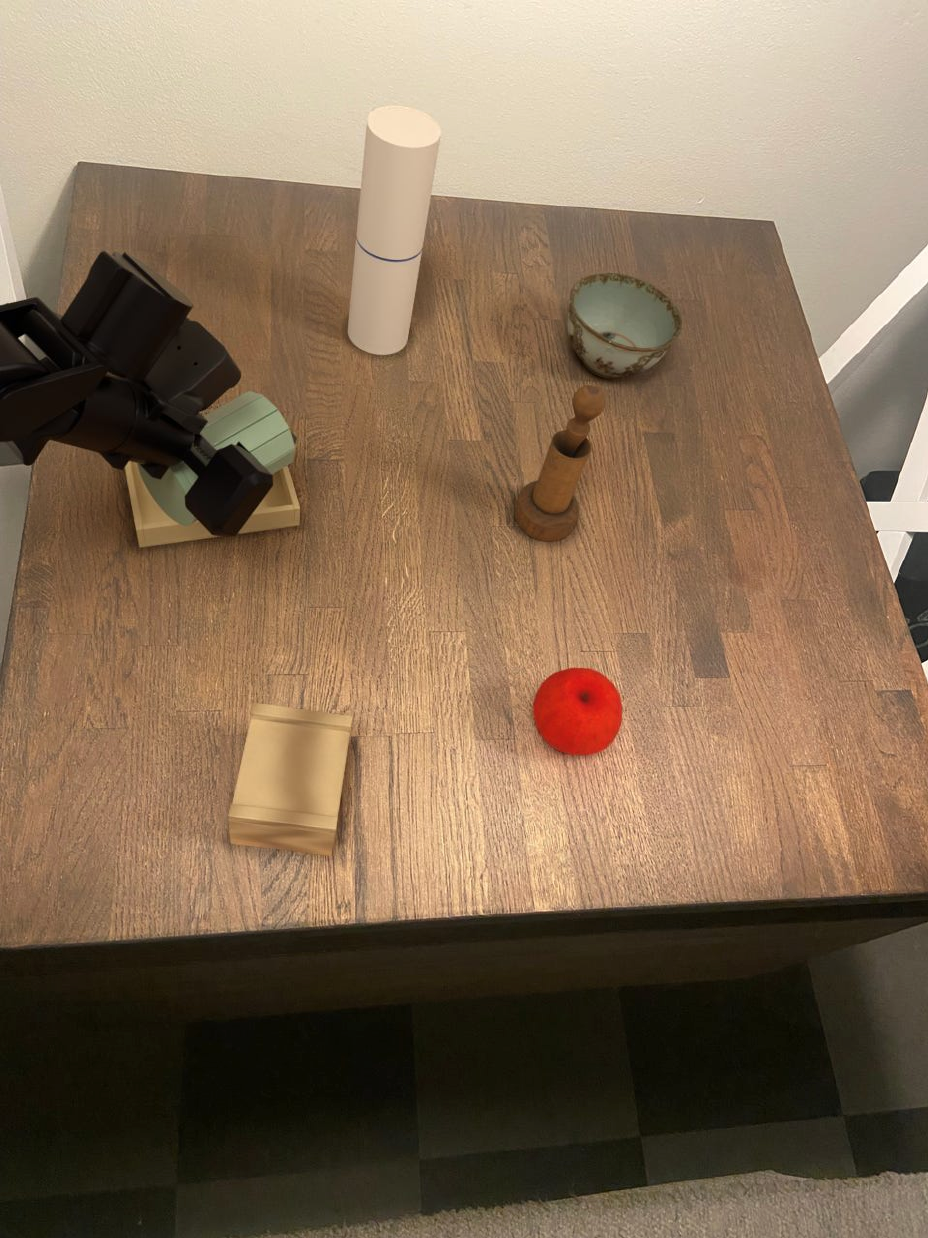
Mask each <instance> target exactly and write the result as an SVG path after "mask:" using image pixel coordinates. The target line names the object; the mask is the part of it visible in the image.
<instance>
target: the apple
mask: <svg viewBox="0 0 928 1238" xmlns="http://www.w3.org/2000/svg"><path fill="white" fill-rule="evenodd" d="M532 706H533V707H532V713H533V718H534V721H535V725H536V729H537V732H539V734H540V735H541V737H542V738H543V740H544V741H545V742H546V743H547V744H548V745H549V746H551V748H554V749H556V750H557V751H558V752H560V753H563V754H568V755H572V756H590V755H594V754H598V753H601V752H602V751H604V750H606V749H607V748H608V747H609V746H610V745H611V744H613V742H614V741H615V739H616V737H617V735H618V733H619V731H620V729H621V725H622V722H623V709H624V708H623V704H622V699H621V694H620V692H619V691H618V689H617V687H616V685H615V684H614V683H613V682H612V681H611V680H610V679H609V678H608V677H607V676H606V675H604V674H603V673H601V672H599V671H597V670H595V669H593V668H589V667H569V668H565V669H562V670H558V671H555V672H553V673H552V674H550V675H549V676H548V677H546V679H545V680H543V681H542V682H541V684H540V685H539V688H538V690H537V692H536V693H535V696H534V699H533V703H532Z"/></svg>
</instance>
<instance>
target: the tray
mask: <svg viewBox="0 0 928 1238" xmlns="http://www.w3.org/2000/svg"><path fill="white" fill-rule="evenodd" d="M288 465H289V464H288ZM288 465H287V466H285V467H284V468H282V469H280V470H279V471H277V472H275V473H274V474H272V475H273V487H272V488H271V489H270V491H269V492H268V493H267V495H266V496H265V497H264V499H263V500H262V502H261V503H260V504H259V506H258V507H257V508H256V510H255V511H254V512H253V514H252V515H251V516H250V518H249V519H248V520H247V522H246V523H245V524H244V526H243V527H242V529H241V530H240V531H239V533H238V534H237V535H241V534H249V533H254V532H263V531H269V530H270V531H271V530H277V529H283V528H290V527H291V528H292V527H298V526H300V521H301V520H300V519H301V506H300V503H299V500H298V496H297V493H296V489H295V486H294V482H293V478H292V476H291V471H290V469H289V466H288ZM124 471H125V476H126V481H127V487H128V493H129V498H130V504H131V510H132V516H133V521H134V527H135V532H136V537H137V543H138V548H147V547H153V546H161V545H168V544H176V543H184V542H190V541H197V540H204V539H212V538H219V537H220V536H214V535H212V534H211V533H210V532H209V531H208V530H207V529H206V528H205V527H204V526H203V525H202V524H201V523H200V522H199V521H196V522H194V523H192V524H191V525H189V526H184V525H181V524H178V523H177V522H175V521H174V520H172V519H171V518H170V517H169V516H168V515H167V514H166V513H165V512H164V511H163V510H162V509H161V508H160V507H159V506H158V504H157V503H156V502H155V500H154V499H153V497H152V496H151V494H150V493H149V491H148V489H147V488H146V486H145V484H144V482H143V480H142V477H141V475H140V472H139V469H138V464H137V463H135V462H131V461H129V462H128V463H127V465H126V466H125V468H124ZM220 538H221V537H220Z"/></svg>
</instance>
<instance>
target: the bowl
mask: <svg viewBox="0 0 928 1238" xmlns="http://www.w3.org/2000/svg"><path fill="white" fill-rule="evenodd" d="M567 313H568V314H567V321H566V323H567V333H568V338H569V340H570V343H571V346H572V348H573V350H574V351H575V353H576V355H577V356H578V357H579V359H580V360H582V363H583V364H584V366H585V367H586V369H588V371H589V372H590V373H592V374H594V375H595V376H598V377H600V378H605V379H619V378H621V377H628V376H633V375H637V374H639V373H643V372H645V371H647V370H649V369H650V368H652V367H653V366H654V365H656V364H657V363H658V362H659V361H660V360H661V359H663V358H664V356H665V355H666V353H667V352H668V350H669V349H670V347H671V346H672V345H673V344H674V343H675V342H676V341H677V340H678V338H679V336H680V335H681V331H682V329H683V319H682V315H681V313H680V310H679V309H678V307H677V306H676V305H675V303H674V301H673V300H672V299H671V298H670V297H669V296H667V295H666V294H665V293H664V292H663V291H662V290H660V289H659V288H658V287H656V286H655V285H653V284H652V283H649V282H647V281H645V280H643V279H641V278H638V277H634V276H632V275H627V274H623V273H618V272H603V273H602V272H601V273H595V274H590V275H587V276H585V277H583V278H581V279H579V280H578V281H577V282H575V283H574V285H573V287H572V288H571V290H570V295H569V307H568V311H567Z"/></svg>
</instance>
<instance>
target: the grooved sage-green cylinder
mask: <svg viewBox="0 0 928 1238" xmlns="http://www.w3.org/2000/svg"><path fill="white" fill-rule="evenodd" d="M202 416H203V417H204V418H205V419H206V420H207V421H208V422H207V424H206V425H205V427H204V428H203V430H202V431H201V432H200V433H201V434H202V435H203V436H204V437H205V438H206V439H207V440H208V441H209V442H210V443H211V444H212V445H213V446H214V447H215V448H216V449H217V450H218V449H220V448H224V447H226V446H228V445H230V444H234V445H236V444H237V443H238V442H240V443H241V444H242V445H243V446H244V447H245V448H246V449H247V450H248V451H249V452H250V453H251V454H252V455H253V456H254V457H255V458H256V459H257V460H258V461H259V462H260V463H261V464H262V465H263V466H264V467H265V468H266V469H267V470H268V471H269V472H270V473H271V474H274V473H275V472H277V471H279V470H280V469H282V468H284V467H285V466H287V465H291V463H293V462H294V458H295V454H296V453H295V452H296V444H295V445H294V441H293V438H292V434H291V432H292V431H291V429H290V427H289V425H288V423H287V422H286V420H285V418H284V417H283V415H282V413H281V412H280V410H278V408H277V406H275V405H274V404H273V403H272V402H271V401H270V399H268V398H267V397H266V396H265V395H263V394H261V393H258V392H255V391H252V390H248V391H246V392H244V393H242V394H240V395H238V396H236V397H234V398H233V399H231V400H229V401H228V402H226V403H224V404H222V405H220V406H218V407H217V408H214V409H213V410H211V411H209V412H207V413H205V414H204V415H202ZM193 445H194V444H193ZM196 448H197V447H196ZM199 451H200V450H199ZM202 454H203V453H202ZM205 457H207V456H205ZM208 460H210V459H208ZM137 464H138V469H139V472H140V475H141V477H142V480H143V482H144V484H145V486H146V488H147V489H148V491H149V493H150V494H151V496H152V497H153V499H154V500H155V502H156V503H157V504H158V506H159V507H160V508H161V509H162V510H163V511H164V512H165V513H166V514H167V515H168V516H169V517H170V518H171V519H172V520H174V521H175V522H177V523H178V524H181V525H184V526H189V525H191V524H192V523H194V522H196V521H198V520H197V519H196V518H195V517H194V516H193V515H192V514H191V513H190V511H189V510H188V509H187V508H186V506H185V495H186V494H187V492H188V491H189V489H190V488H191V487H192V485H193V484H194V482H195V481H196V480H197V478H198V476H197V475H196V474H195V473H194V472H193V471H192V470H191V469H190V468H189V467H188V466H187V465H186V464H185V463H184V462H183V461H181V462H180V463H179V464H177V465H176V466H174V467H171V466H170V467H169V469H168V470H167V472H166V473H165V474H164V476H163V477H162V479H161V480H160V479H156V478H152V477H151V476H150V475H149V474H148V473H147V472H146V471H145V470H144V469H143V468H142V467H141V466H140V464H139V463H137Z"/></svg>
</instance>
